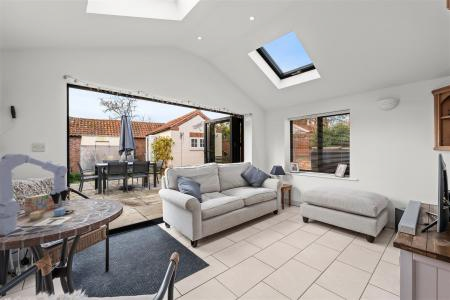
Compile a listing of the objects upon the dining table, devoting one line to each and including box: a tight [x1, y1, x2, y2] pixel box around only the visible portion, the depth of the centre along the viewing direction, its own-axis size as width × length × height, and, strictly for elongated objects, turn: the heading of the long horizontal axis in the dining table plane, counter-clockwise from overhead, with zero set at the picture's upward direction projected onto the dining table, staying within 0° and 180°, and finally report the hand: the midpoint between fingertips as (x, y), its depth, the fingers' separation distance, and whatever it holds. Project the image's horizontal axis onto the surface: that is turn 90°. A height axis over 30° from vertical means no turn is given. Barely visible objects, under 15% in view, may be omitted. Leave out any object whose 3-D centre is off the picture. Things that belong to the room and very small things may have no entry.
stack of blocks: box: [24, 193, 63, 216], centre depth 145 cm, size 21×6×12 cm, turn 172°
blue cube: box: [53, 207, 67, 217], centre depth 133 cm, size 4×4×4 cm
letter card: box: [33, 216, 72, 227], centre depth 121 cm, size 14×14×1 cm
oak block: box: [29, 211, 46, 221], centre depth 125 cm, size 5×5×5 cm
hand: (59, 202), depth 133 cm, fingers open, 7 cm apart
